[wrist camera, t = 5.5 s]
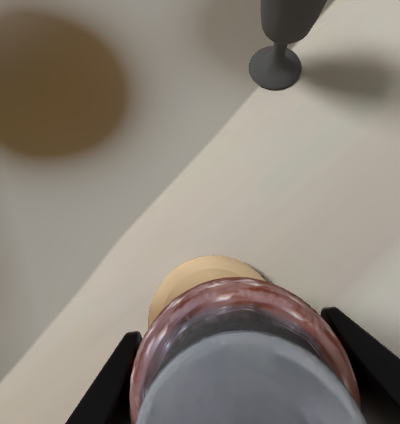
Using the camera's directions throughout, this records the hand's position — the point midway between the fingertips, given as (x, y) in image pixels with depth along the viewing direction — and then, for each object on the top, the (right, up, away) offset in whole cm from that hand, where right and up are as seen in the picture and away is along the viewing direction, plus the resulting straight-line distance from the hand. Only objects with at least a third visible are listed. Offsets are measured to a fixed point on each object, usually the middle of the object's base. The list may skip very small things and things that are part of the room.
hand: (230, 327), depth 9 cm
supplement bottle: (+1, -3, +6) cm, 7 cm away
